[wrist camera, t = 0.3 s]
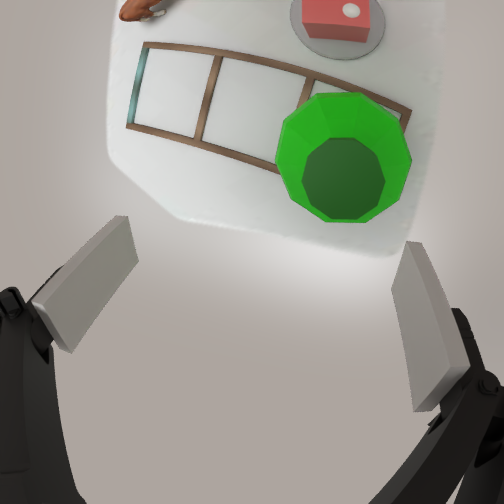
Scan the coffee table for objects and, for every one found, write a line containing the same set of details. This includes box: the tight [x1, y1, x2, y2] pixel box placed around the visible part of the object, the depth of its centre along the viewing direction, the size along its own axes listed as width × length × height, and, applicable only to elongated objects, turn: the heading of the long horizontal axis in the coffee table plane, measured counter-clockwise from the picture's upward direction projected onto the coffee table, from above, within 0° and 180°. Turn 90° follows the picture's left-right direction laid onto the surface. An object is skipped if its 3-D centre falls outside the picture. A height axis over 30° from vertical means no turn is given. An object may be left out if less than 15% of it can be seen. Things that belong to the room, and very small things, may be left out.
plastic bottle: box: [275, 92, 412, 223], centre depth 25 cm, size 10×10×25 cm
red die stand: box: [290, 0, 385, 60], centre depth 24 cm, size 12×12×9 cm
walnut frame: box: [126, 42, 412, 175], centre depth 37 cm, size 15×40×1 cm, turn 75°
